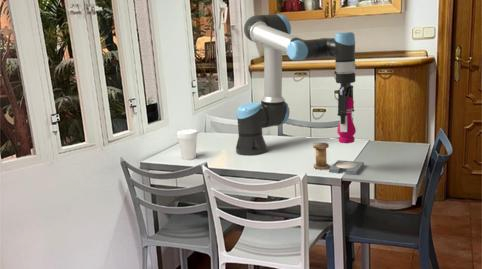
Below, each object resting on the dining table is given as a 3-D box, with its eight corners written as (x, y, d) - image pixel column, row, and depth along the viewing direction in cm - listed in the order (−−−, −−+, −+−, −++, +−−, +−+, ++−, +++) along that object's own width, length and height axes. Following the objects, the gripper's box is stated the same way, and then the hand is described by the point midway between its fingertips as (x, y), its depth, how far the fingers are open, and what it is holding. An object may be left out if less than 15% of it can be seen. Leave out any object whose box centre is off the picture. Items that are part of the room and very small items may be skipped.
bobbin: (311, 169, 193) (310, 145, 191) (316, 164, 199) (315, 142, 196) (326, 170, 190) (325, 146, 188) (331, 166, 196) (330, 143, 193)
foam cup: (175, 160, 220) (173, 133, 217) (185, 155, 228) (182, 129, 226) (193, 161, 216) (191, 134, 214) (202, 155, 225) (200, 129, 222)
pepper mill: (356, 139, 190) (356, 91, 185) (354, 143, 183) (354, 93, 179) (338, 139, 192) (337, 91, 188) (336, 143, 186) (335, 94, 181)
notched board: (328, 172, 187) (328, 168, 187) (338, 163, 198) (338, 159, 198) (355, 174, 182) (355, 170, 182) (363, 165, 193) (363, 161, 193)
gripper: (348, 75, 171) (348, 135, 176) (361, 69, 188) (361, 124, 193) (328, 75, 175) (329, 134, 180) (343, 70, 192) (344, 124, 197)
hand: (346, 129), depth 187 cm, fingers closed on pepper mill, 7 cm apart
